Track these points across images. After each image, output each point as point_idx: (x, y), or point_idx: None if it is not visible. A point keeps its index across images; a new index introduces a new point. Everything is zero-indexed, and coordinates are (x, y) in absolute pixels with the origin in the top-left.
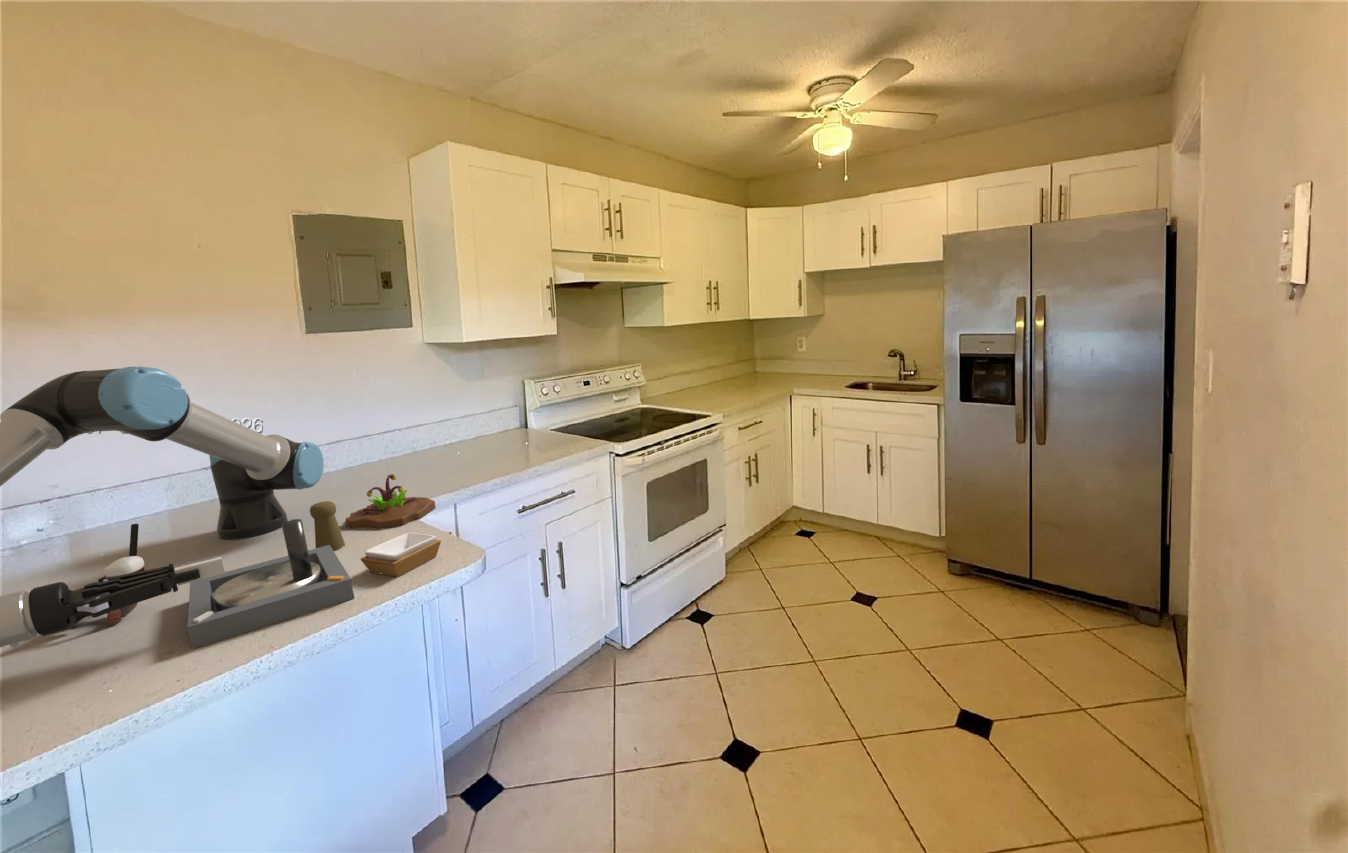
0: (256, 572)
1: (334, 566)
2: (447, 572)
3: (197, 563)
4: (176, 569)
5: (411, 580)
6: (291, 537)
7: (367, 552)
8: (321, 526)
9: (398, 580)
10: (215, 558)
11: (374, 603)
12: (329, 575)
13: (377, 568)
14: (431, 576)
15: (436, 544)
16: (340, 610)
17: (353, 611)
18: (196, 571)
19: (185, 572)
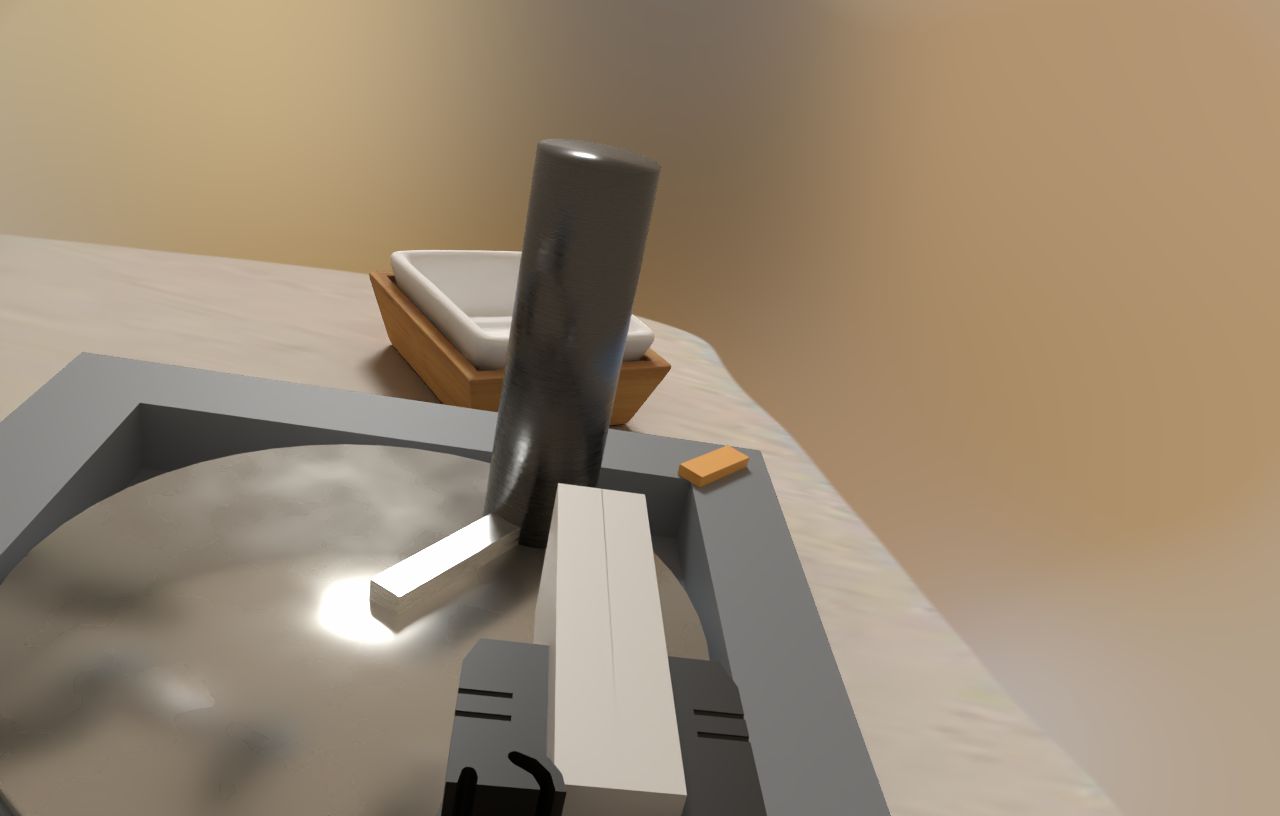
0: (70, 619)
1: None
2: (719, 372)
3: (601, 611)
4: (645, 772)
5: (703, 421)
6: (639, 261)
7: (507, 341)
8: None
9: (665, 434)
10: (572, 512)
11: (847, 523)
12: (633, 467)
13: None
14: (717, 394)
15: None
16: (837, 594)
17: (882, 574)
18: (725, 683)
19: (706, 748)
